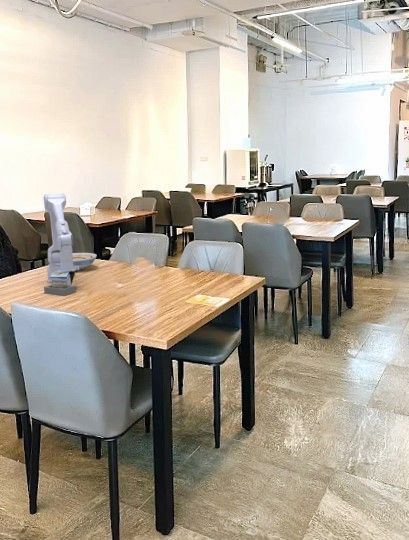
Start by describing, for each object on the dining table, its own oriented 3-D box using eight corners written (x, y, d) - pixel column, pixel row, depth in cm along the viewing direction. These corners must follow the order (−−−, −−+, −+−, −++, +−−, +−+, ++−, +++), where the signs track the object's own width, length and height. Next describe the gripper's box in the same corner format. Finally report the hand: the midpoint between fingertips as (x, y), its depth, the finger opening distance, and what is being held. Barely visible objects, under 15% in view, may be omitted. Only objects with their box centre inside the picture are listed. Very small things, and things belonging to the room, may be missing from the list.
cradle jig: (44, 293, 243) (44, 287, 242) (56, 289, 250) (56, 283, 249) (64, 296, 238) (64, 289, 237) (76, 291, 245) (76, 285, 244)
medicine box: (53, 292, 244) (49, 277, 239) (55, 287, 247) (52, 271, 243) (70, 292, 244) (67, 276, 239) (72, 287, 247) (69, 271, 243)
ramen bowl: (92, 273, 283) (91, 258, 281) (49, 274, 283) (48, 259, 282) (101, 264, 307) (100, 250, 306) (62, 265, 308) (61, 251, 306)
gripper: (62, 262, 237) (64, 292, 240) (83, 257, 250) (85, 285, 253) (50, 261, 241) (53, 290, 243) (71, 256, 253) (73, 283, 256)
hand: (68, 287), depth 248 cm, fingers closed
